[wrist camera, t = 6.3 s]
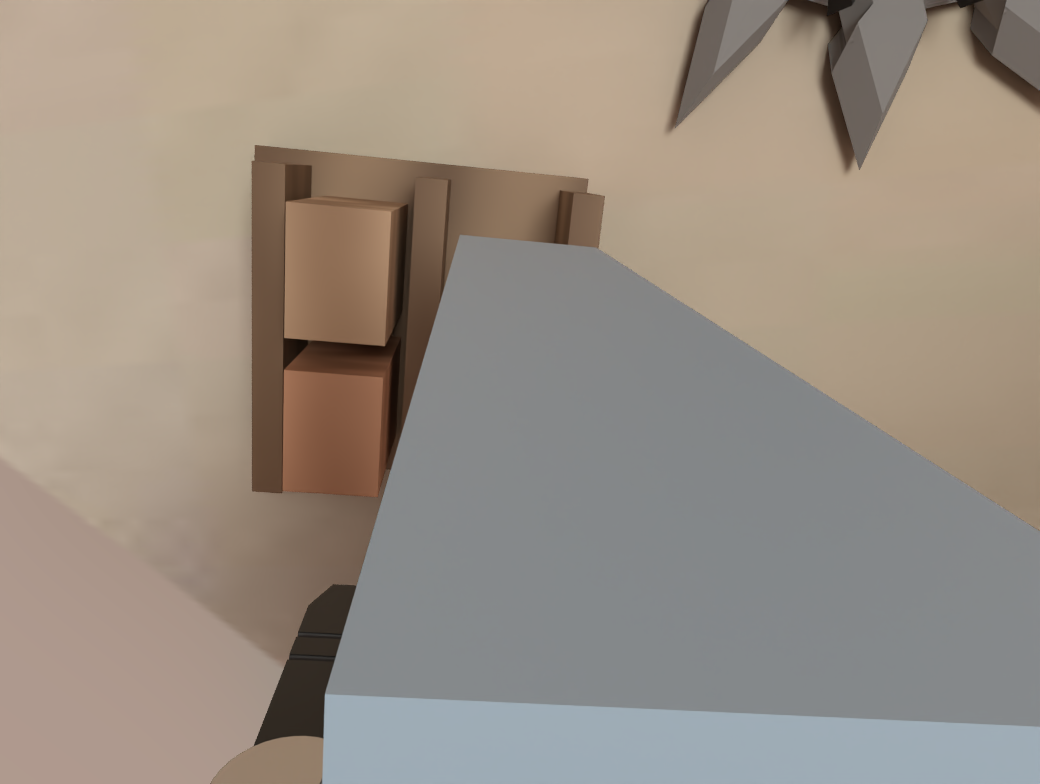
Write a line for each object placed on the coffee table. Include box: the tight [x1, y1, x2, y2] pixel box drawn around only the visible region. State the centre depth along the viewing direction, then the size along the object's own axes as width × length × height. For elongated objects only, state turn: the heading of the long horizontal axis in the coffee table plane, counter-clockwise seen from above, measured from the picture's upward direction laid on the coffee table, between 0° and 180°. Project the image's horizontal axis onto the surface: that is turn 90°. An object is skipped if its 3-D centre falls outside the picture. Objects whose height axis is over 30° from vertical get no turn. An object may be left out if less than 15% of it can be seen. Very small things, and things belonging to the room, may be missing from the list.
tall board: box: [322, 235, 1040, 784], centre depth 10 cm, size 3×9×15 cm, turn 175°
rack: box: [252, 145, 605, 493], centre depth 28 cm, size 12×12×6 cm
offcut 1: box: [284, 196, 408, 346], centre depth 25 cm, size 3×4×6 cm
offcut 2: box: [283, 336, 401, 497], centre depth 26 cm, size 3×4×6 cm
